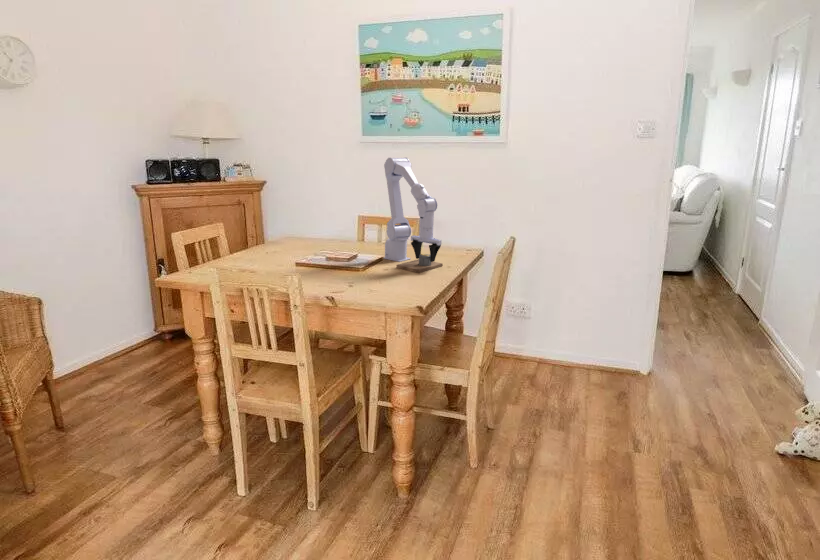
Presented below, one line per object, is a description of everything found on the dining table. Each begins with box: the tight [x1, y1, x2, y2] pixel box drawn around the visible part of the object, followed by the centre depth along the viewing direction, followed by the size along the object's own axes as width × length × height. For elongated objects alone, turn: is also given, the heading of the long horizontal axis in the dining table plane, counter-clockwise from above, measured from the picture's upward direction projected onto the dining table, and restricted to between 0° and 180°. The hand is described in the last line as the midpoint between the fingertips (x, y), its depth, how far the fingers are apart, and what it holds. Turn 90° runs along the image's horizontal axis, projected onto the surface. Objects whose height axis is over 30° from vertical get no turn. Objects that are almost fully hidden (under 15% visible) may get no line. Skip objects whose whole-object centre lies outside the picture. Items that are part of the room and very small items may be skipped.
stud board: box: [396, 258, 444, 274], centre depth 235 cm, size 12×16×4 cm
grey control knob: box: [418, 253, 431, 266], centre depth 235 cm, size 5×5×4 cm
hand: (425, 259), depth 235 cm, fingers open, 7 cm apart
